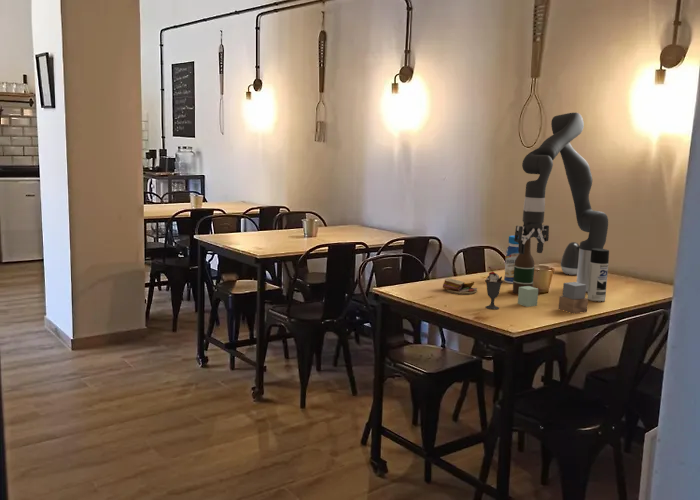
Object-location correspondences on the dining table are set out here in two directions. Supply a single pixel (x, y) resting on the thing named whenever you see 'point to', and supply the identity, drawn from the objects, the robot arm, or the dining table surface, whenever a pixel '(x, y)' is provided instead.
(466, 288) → the toy sandwich meal
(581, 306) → the plinth
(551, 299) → the dining table surface
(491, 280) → the sundae
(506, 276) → the beverage bottle
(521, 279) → the beer bottle
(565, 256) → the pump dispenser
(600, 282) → the spray can
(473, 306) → the dining table surface
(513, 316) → the dining table surface
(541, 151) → the robot arm
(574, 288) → the cube
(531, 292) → the block
